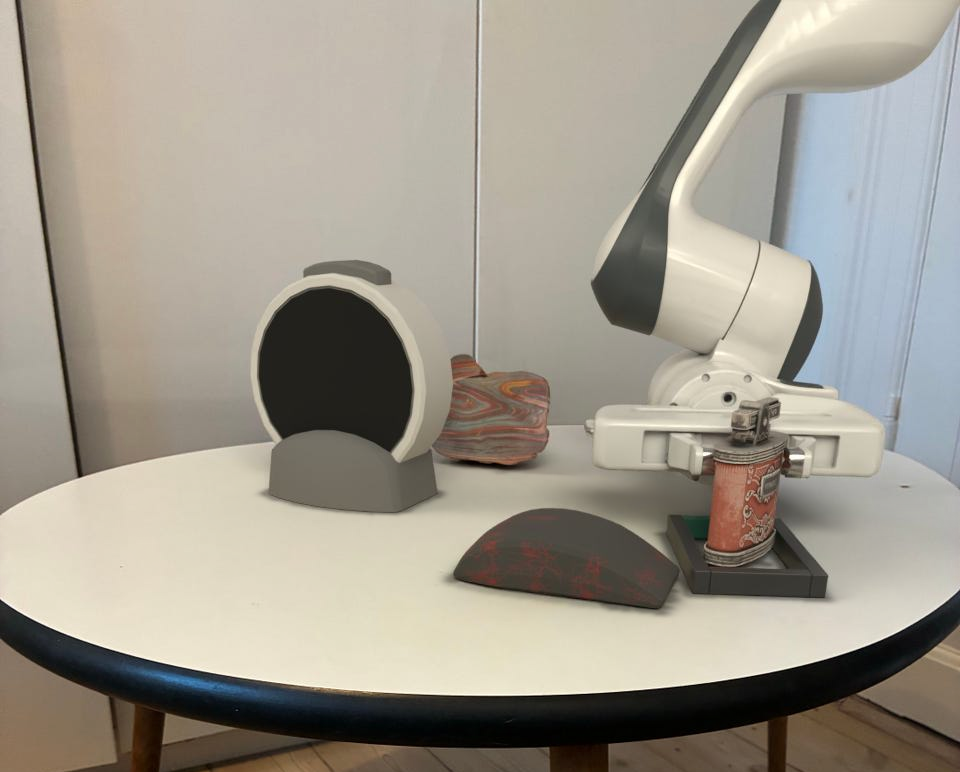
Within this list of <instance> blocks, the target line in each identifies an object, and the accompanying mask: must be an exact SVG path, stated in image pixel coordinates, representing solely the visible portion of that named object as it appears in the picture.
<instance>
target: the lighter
mask: <svg viewBox="0 0 960 772" xmlns="http://www.w3.org/2000/svg"><path fill="white" fill-rule="evenodd" d="M780 408H781V402H780V401H779V398H773V397H766V398H763V399H760V400H758V401H748V400H743V401H741V403H740V405H739V408H738V410H735V411H733V412H732V420H731V428H732V436H730V437H727V438H725V439H723V440H721V441H720V442H718V443H717V444H716V445H715V448H714V458H713V459H715V460H716V468H715V477H714V485H713V489H712V497H711V498H712V499H711V507H710V515H709V516H710V524H709V534H708V539H707V540H706V542H705V544H703V553H702V555H703V557H704V559H705V561H706V563H707V564H710V565H713V566H717V567H739V566H742V565H745V564H747V563H750V562H753V561H756V560H757V559H758V558H761V557H762V556H764V555H765V554H766V553H768V551H770V550H771V549H772V548H773V547H772V546H773V544H774V541H775V534H776V529H774V528H773V526H774V519H775V518H776V509H777V504H778V503H777V502H778V494H779V488H780V481H781V475H780V473H781V466H782V458H783V451H784V449H785V447H787V443H788V434H786V433H782V432H776V431H770V426H771V424H769V421H771V420H773V419H776V418H779V416H780Z"/></svg>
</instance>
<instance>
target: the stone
mask: <svg viewBox="0 0 960 772" xmlns="http://www.w3.org/2000/svg"><path fill="white" fill-rule="evenodd" d="M450 359H451V369H452V378H453V388H452V396H451V404H450V411H449V413H448V416H447V419H446V421H445V424H444V426H443V429H442V431H441V434H440V435H439V437H438V438H437V439H436V441H435V442H434V443H433V445H432V446H431V447H432V448H433V449H434V450H435V452H436V453H438V454H439V455H441V456H442V457H445V458H448V459H452V460H459V461H473V462H479V463H480V464H481V463H482V464H493V463H495V464H499V465H505V466H513V465H518V464H522V463H525V462H527V461H532V460H534V459H536V458H537V456H538V454H540V453H542V452H543V451H544V450H545V449H546V447H547V445H548V443H549V438H550V430H549V429H548V426H547V423H548V416H549V412H550V409H549V408H550V404H551V388H550V384H549V381H548V380H547V379H546V378H545V377H543V376H541V375H539V374H537V373H534V372H530V371H525V370H518V371H492V372H490V373H487V372H486V371H485V370H484V369H483V367H482V366H481V365H479V363H477V359H476V358H475V357H473V356H472V355H471V354H468V353H458V354H455V355H453V356H452V357H450Z"/></svg>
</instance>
